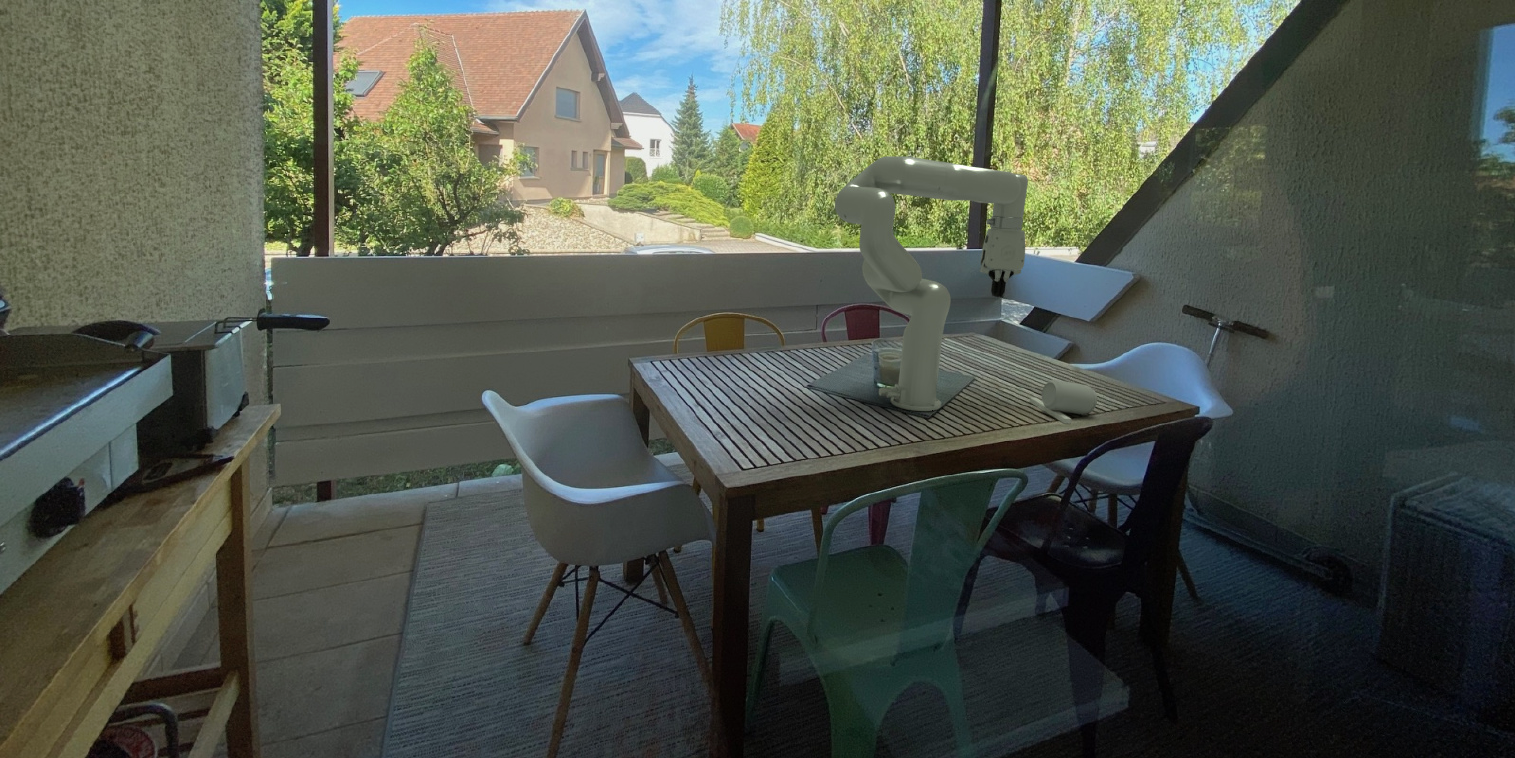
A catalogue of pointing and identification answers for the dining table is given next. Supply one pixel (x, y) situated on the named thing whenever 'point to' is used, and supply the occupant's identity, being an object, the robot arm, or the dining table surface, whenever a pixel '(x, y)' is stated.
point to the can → (1069, 397)
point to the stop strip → (1051, 411)
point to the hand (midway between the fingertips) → (997, 296)
